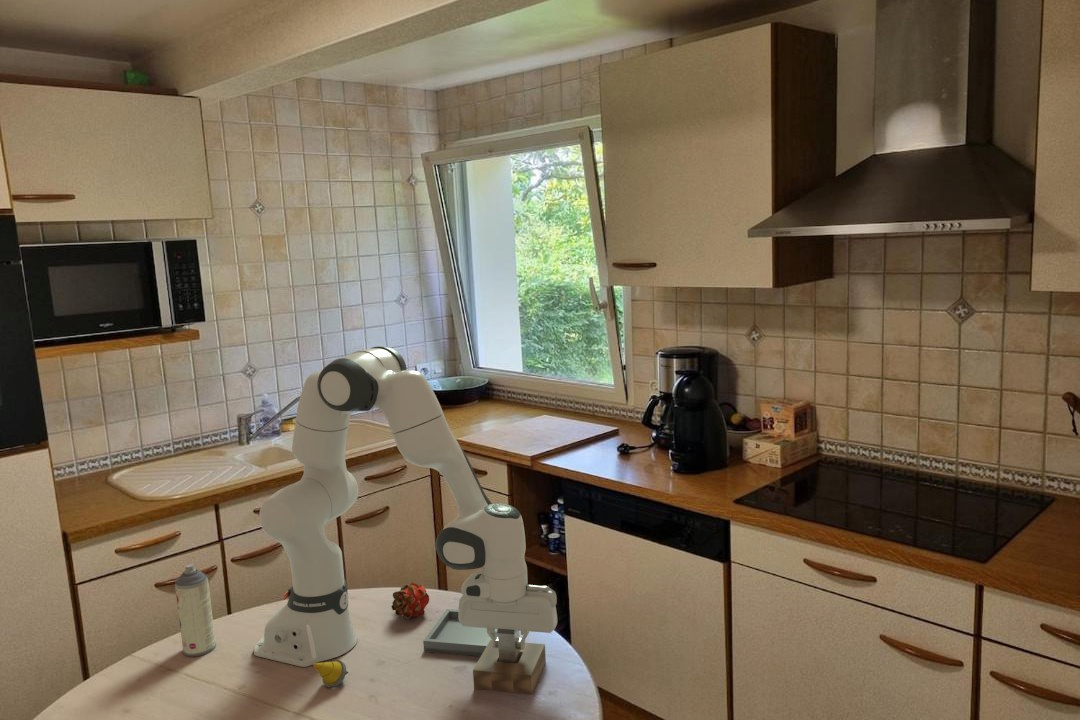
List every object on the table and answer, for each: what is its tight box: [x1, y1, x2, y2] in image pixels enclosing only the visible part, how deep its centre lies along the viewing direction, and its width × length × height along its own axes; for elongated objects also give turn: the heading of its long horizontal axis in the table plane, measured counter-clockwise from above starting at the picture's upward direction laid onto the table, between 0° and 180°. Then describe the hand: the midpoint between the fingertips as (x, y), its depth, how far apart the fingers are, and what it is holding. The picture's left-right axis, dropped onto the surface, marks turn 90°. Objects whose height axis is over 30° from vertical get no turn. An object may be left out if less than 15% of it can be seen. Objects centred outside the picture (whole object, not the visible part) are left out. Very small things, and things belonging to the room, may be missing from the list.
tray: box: [422, 608, 498, 657], centre depth 180 cm, size 15×15×2 cm
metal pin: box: [497, 629, 521, 664], centre depth 163 cm, size 4×4×11 cm
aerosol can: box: [174, 563, 217, 658], centre depth 178 cm, size 7×7×20 cm
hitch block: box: [472, 640, 547, 695], centre depth 163 cm, size 12×12×4 cm
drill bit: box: [312, 659, 349, 689], centre depth 162 cm, size 5×5×10 cm
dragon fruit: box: [391, 581, 430, 620], centre depth 191 cm, size 8×8×12 cm
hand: (509, 647), depth 163 cm, fingers closed on metal pin, 3 cm apart
